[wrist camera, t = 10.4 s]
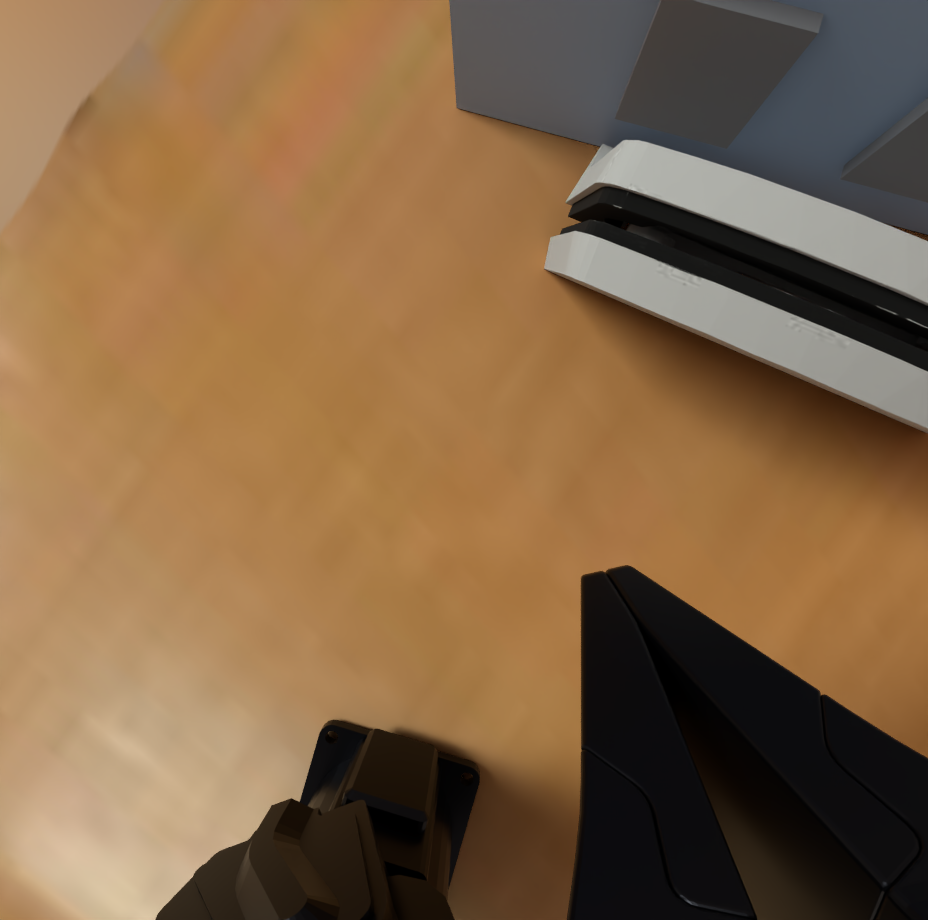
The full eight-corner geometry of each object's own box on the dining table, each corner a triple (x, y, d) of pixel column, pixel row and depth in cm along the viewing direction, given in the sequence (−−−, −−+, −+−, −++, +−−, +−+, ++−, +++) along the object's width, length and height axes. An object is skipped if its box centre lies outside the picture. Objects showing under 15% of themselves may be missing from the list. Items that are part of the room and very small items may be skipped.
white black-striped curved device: (987, 316, 21) (1344, 344, 11) (906, 425, 22) (1158, 527, 13) (589, 149, 21) (615, 42, 12) (539, 267, 23) (526, 256, 13)
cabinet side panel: (999, 267, 21) (1490, 86, 11) (453, 119, 21) (428, -183, 11) (1018, 205, 21) (1527, -37, 11) (470, 59, 21) (462, -299, 11)
